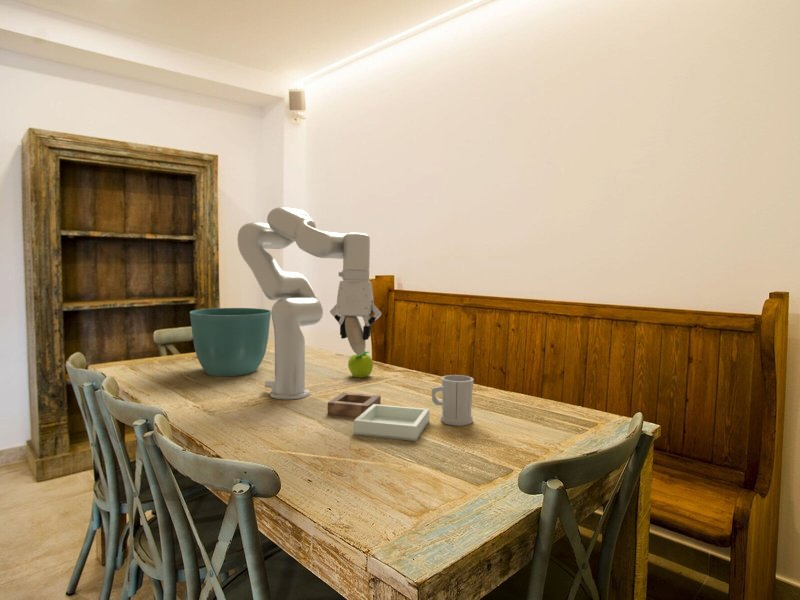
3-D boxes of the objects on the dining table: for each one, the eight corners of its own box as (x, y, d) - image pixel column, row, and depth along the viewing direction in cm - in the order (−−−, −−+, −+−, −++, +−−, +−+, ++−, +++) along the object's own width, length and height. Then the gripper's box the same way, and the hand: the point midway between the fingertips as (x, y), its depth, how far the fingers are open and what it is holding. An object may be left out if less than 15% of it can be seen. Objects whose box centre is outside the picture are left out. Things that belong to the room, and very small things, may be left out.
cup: (446, 428, 131) (447, 383, 130) (428, 419, 139) (429, 376, 138) (479, 423, 136) (480, 380, 135) (460, 414, 144) (461, 373, 143)
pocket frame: (327, 414, 142) (327, 402, 142) (343, 403, 154) (343, 392, 153) (367, 418, 139) (367, 405, 139) (380, 406, 151) (380, 395, 150)
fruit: (377, 377, 192) (377, 351, 191) (362, 381, 184) (363, 354, 183) (358, 374, 197) (358, 349, 196) (343, 378, 189) (343, 352, 188)
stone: (362, 357, 142) (363, 314, 141) (341, 355, 143) (342, 313, 142) (367, 353, 148) (369, 313, 147) (347, 352, 149) (348, 312, 148)
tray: (353, 434, 125) (353, 420, 125) (373, 416, 141) (373, 404, 140) (415, 441, 121) (416, 426, 121) (429, 421, 137) (429, 409, 136)
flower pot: (258, 381, 181) (258, 315, 180) (176, 379, 182) (175, 313, 180) (279, 365, 211) (279, 308, 210) (208, 364, 212) (208, 307, 210)
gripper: (322, 275, 142) (322, 338, 144) (381, 277, 138) (379, 342, 139) (333, 275, 150) (332, 335, 151) (388, 277, 145) (387, 338, 147)
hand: (355, 338), depth 145 cm, fingers closed on stone, 6 cm apart
